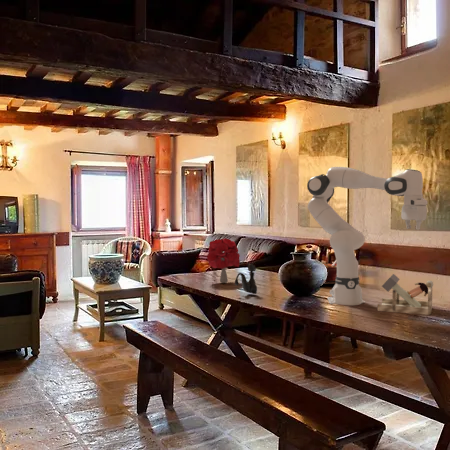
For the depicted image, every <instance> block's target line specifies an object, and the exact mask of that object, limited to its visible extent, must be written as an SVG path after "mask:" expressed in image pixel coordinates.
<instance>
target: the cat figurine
mask: <svg viewBox="0 0 450 450" xmlns="http://www.w3.org/2000/svg"><path fill="white" fill-rule="evenodd" d="M246 263H247V270H248V272H249V273H248V275H249V280H248V281H247V278H246V275H245V274H244V273H243V272H239V273H237V276H236V278H235V279H234V280H235V281H234V285H235V286H238V285H239V276H240V279H241V286H242V290H243V291H244V292H246V293H247V294H253V295H256V294H258V285H257V283H256V279H255V272H256V270H257V268H256V265H254V264H253V263H252V262H251V263H249V262H246Z"/></svg>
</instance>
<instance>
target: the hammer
mask: <svg viewBox="0 0 450 450" xmlns="http://www.w3.org/2000/svg"><path fill="white" fill-rule="evenodd" d="M399 281H400V278H399V277H398V276H397V275H396V274H395V273H392V275H391V276H390V277H389V278H388V279H387V280H386V281H385V282H384V283H383V284H382V285H381V287H382V288H383V289H384V290H385V291H386V292H387V293H389V292H390V291H391V290H392V291H393V290H396V293H398V294H399V297H401V298H402V300H406V301H407V302H408V303H409V304H410V305H411V306H412V307H421V304H420V303H419V302H418V301H419V300H417V299H415V297H413V299H412V298H411V297H410V295H411V294H410V295H409V294H408V293H407V290H405V288H403V287H401V285H400V284H398V282H399Z"/></svg>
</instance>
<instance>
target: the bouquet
mask: <svg viewBox="0 0 450 450" xmlns="http://www.w3.org/2000/svg"><path fill="white" fill-rule="evenodd" d="M208 244H209V246H208V253H207V257H206V258H207V259H206V260H207V261H208V265H209V266H210V267H212V268H213V269H221V272H220V277H219V283H225V284H226V283H228V279H229V278H228V275H227V270H226V268H228V267H232V266H233V267H234V268H239V267H240V263H241V259H240V257H241V254H240V253H239V248H238V246H237V244H236V242H235V241H234V240H232V239H229V238H226V237H224V238H220V239H219V238H218V239H214V240H211V241H209V243H208Z"/></svg>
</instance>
